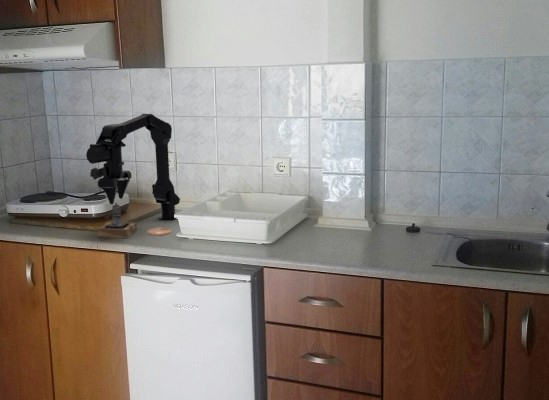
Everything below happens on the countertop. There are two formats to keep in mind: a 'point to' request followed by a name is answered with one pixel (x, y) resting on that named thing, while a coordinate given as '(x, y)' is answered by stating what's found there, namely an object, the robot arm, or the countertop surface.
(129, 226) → the walnut holder
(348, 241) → the countertop surface
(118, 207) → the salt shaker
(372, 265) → the countertop surface
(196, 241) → the countertop surface
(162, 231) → the coaster
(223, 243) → the countertop surface
